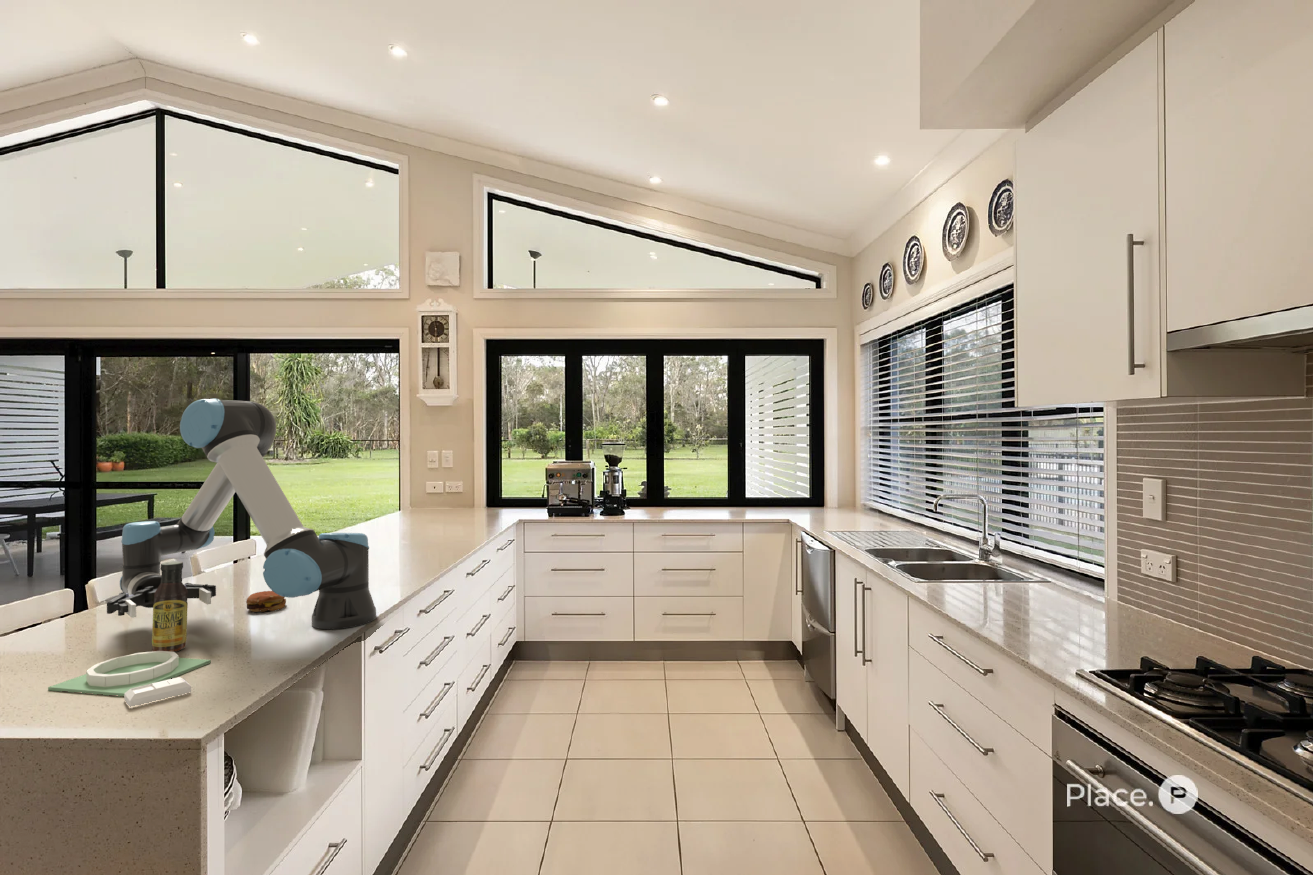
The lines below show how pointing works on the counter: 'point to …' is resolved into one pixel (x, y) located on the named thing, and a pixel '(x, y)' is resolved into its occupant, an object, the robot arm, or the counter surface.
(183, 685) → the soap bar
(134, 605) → the robot arm
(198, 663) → the putting mat
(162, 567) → the sauce bottle
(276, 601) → the burger
